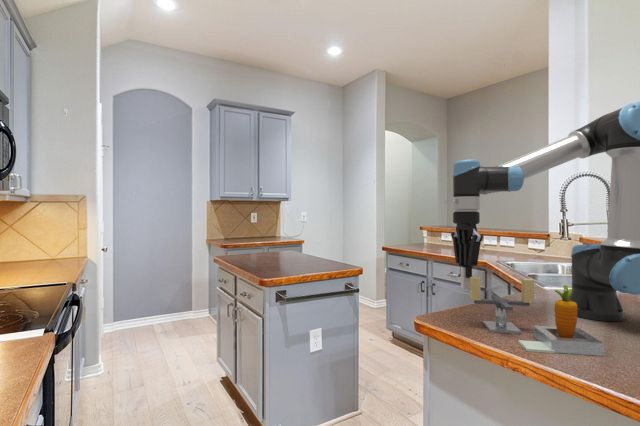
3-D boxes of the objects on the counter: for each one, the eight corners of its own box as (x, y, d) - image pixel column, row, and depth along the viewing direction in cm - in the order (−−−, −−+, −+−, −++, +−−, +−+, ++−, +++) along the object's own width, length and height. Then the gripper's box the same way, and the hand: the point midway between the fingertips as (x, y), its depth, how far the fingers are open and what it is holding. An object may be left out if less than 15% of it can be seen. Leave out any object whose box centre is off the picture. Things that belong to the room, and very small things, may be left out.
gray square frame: (579, 339, 93) (579, 328, 93) (603, 356, 82) (603, 343, 82) (533, 336, 95) (533, 325, 95) (551, 352, 84) (551, 339, 84)
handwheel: (522, 299, 107) (522, 275, 107) (542, 312, 93) (542, 284, 93) (465, 297, 111) (465, 273, 111) (476, 309, 96) (476, 282, 96)
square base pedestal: (511, 325, 105) (511, 301, 105) (521, 334, 97) (521, 308, 97) (482, 323, 107) (482, 300, 107) (489, 332, 99) (489, 307, 99)
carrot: (571, 350, 85) (571, 288, 85) (549, 344, 90) (549, 285, 90) (582, 347, 88) (582, 287, 88) (561, 340, 92) (560, 283, 92)
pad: (543, 344, 90) (543, 341, 90) (554, 353, 84) (554, 350, 84) (518, 342, 91) (518, 340, 91) (527, 351, 85) (527, 348, 85)
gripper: (443, 211, 113) (443, 284, 113) (467, 210, 101) (467, 293, 101) (464, 211, 115) (464, 283, 115) (491, 210, 102) (491, 292, 102)
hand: (466, 287), depth 108 cm, fingers closed
